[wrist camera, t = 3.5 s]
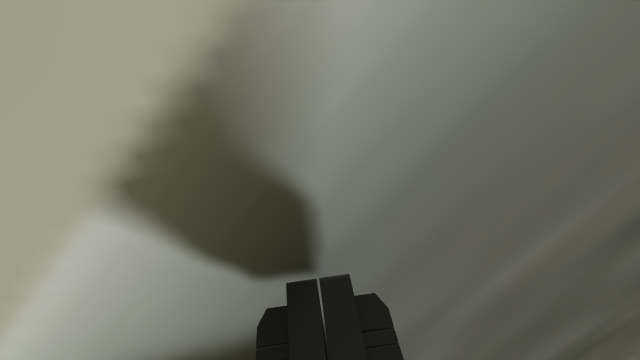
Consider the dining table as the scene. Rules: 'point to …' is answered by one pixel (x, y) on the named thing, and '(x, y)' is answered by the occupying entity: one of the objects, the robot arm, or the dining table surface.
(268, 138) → the dining table surface
